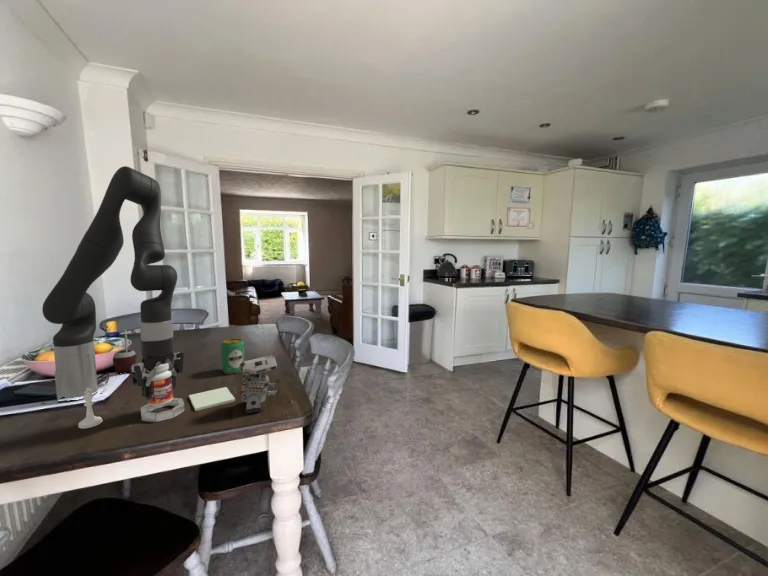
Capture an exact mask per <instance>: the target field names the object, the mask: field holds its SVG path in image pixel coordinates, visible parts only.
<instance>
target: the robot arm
mask: <svg viewBox="0 0 768 576" xmlns="http://www.w3.org/2000/svg"><path fill="white" fill-rule="evenodd" d="M109 181H110V182H109V184H108V186H107V189H106V190H105V193H104V196H103V198H102V201H101V203H100V205H99V208H98V210H97V211H96V213H95V216H94V218H93V220H92V221H91V223H90V225H89V227H88V228H87V230H85V233H84V235H83V237H82V239H81V240H80V242H79V244H78V246H77V248H76V251H75V253H74V254H73V256H72V258H71V259H70V261H69V262H68V264H67V266H66V269H65V270H64V272H63V274H62V276H61V277H60V279H59V280H58V281H57V283H56V284H55V285H54V287H53V288H52V290H51V291H50V292H49V293H48V295H47V297H46V298H45V300H44V302H43V305H42V315H43V317H44V318H45V320H46V321H48V322H49V323H51V324H55V325H61V327H60V329H59V330H58V331H57V332H56V333H55V334H54V335H53V337H52V345H53V346H52V347H53V355H54V365H55V370H54V380H55V393H56V400H57V399H60V398H62V397H65V398H74V397H81V396H84V395H86V394H87V393H84V392H85V391H86V388H89V389H91V391H90V393H91V394H92V393H94V392H96V391H97V390H98V389H99V388H98V387H99V385H98V376H97V364H96V354H95V353H96V352H95V339H94V335H95V332H96V329H97V316H96V315H97V314H96V312H97V310H96V303H95V301H94V299H93V296H92V295H91V294H89V293H88V292H87V291H88V289H89V288H90V287H91V286H92V285H93V284H94V282H95V281H96V280H98V279H99V278H100V277H101V276H102V275H103V274H104V273H105V272H106V271H107V270H109V269H110V267H111V266H112V265H113V264H114V262H115V261H116V260H117V258H118V256H119V254H120V252H121V250H122V248H123V247H124V235H123V229H122V225H121V219H120V213H121V209H122V206H123V204H124V202H125V201H129V202H131V203H134V204H136V205H139V206H141V208H142V209H141V210H142V213H143V215H142V217H141V218H140V219H139V220H138V222H137V223H135V225H134V227H133V229H132V231H131V232H132V233H131V240H132V246H133V251H134V261H133V266H132V270H131V273H130V284H131V286H132V287H133V288H134V290H136V291H139V292H150V291H151V292H152V291H156V292H157V291H160V294H159V295H158V296H155V297H152V298H148V299H145V300H142V301H141V303H140V330H139V331H140V350H141V355H142V359H141V361H140V362H138V363H135V365H134V364H132V365H130V372H131V373H130V375H131V381H132V385H133V386H137V387H141V396H142V398H145V400H147V399H150V398H151V397H152V395H151V385H150V383H151V381H152V378H154V377H155V375H156V368H157V367H158V366H160V364H163V363H168V364H169V369H168V370H169V371H171V374H172V388H173V390H175V389H176V386H177V376H178V374H181V373H182V372H183V369H184V355H185V354H184V353H185V352H184V353H183V352H181V351H175V352H174V345H175V343H174V328H173V327H174V326H173V322H172V302H173V301H172V299H173V295H174V292H175V289H176V285H177V283H178V273H177V270H176V269H175V268H174V267H173V266H171V265H168V264H155V263H159V262H161V261H162V260H164V258H165V255H166V253H165V252H166V251H165V246H164V242H163V237H162V231H161V229H162V228H161V209H162V207H161V206H162V195H161V193H162V192H161V187H160V183H159V182H158V181H157V180H156V179H154V178H153V177H151V176H149V175H146V174H144V173H142V172H141V171H139V170H136V169H135V168H132V167H130V166H126V165H125V166H121V167H119V168H118V169H117V170H116V171H115V172H114V174H113V176H112V177H111V180H109ZM172 362H173V364H172ZM143 368H144V369H143ZM147 370H148V371H151V373H150V374H149V372H147ZM146 378H147V380H146ZM98 391H99V390H98Z"/></svg>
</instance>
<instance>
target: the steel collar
mask: <svg viewBox="0 0 768 576" xmlns="http://www.w3.org/2000/svg"><path fill="white" fill-rule="evenodd" d="M164 407H172V408H171V409H168V410H164V411H159V412H153V411H154V410H156V409H161V408H164ZM184 411H185V402H184V400H183V398H181V397H180V398H177V397H173V399H172V400H171V401H170V402H168V403H166V404H163V405H158V406H151V405H149V404H148V403H147V404H145V405H144V406H142V407H140V417H141V422H142V421H143V422H149V423H150V422H151V423H152V422H153V423H157V422H162V421H165V420H169V419H173V418H175V417H177V416H179V415H180V414H181V413H183V412H184Z"/></svg>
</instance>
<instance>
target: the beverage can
mask: <svg viewBox="0 0 768 576" xmlns="http://www.w3.org/2000/svg"><path fill="white" fill-rule="evenodd" d="M220 346H221V349H220V350H221V370H222V372H223V373H224V374H225V373H226V374H225V375H234V374H233V373H236V374H239V373H238V372H240V373H242V372H241V370H240V366H239V365H240V364H241V363H242V362H244V361H246V360H245V342H244V341H243V339H242V338H237V337H236V338H234V337H233V338H228V339H225V340H222V343H221V345H220Z"/></svg>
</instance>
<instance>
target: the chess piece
mask: <svg viewBox="0 0 768 576" xmlns="http://www.w3.org/2000/svg"><path fill="white" fill-rule="evenodd" d="M90 391H91V389H89V388H86V391H85V392H84V393H87V394H86V395H84V396H83V397H84V399H83V400H85V403H84V404H83V406H84V407H86V414H85V417H84V419H82V420H80V421H79V423H78V424H77V425H78V426H77V427H78V428H79V429H89V428H94V427H96V426H98V425H100V424H101V423H103V418H102V417H101V416H97V415H94V411H93V407H92V406H93V405H95V402H94V401H92V400H93V398H94V395H93V394H91V393H90Z"/></svg>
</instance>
